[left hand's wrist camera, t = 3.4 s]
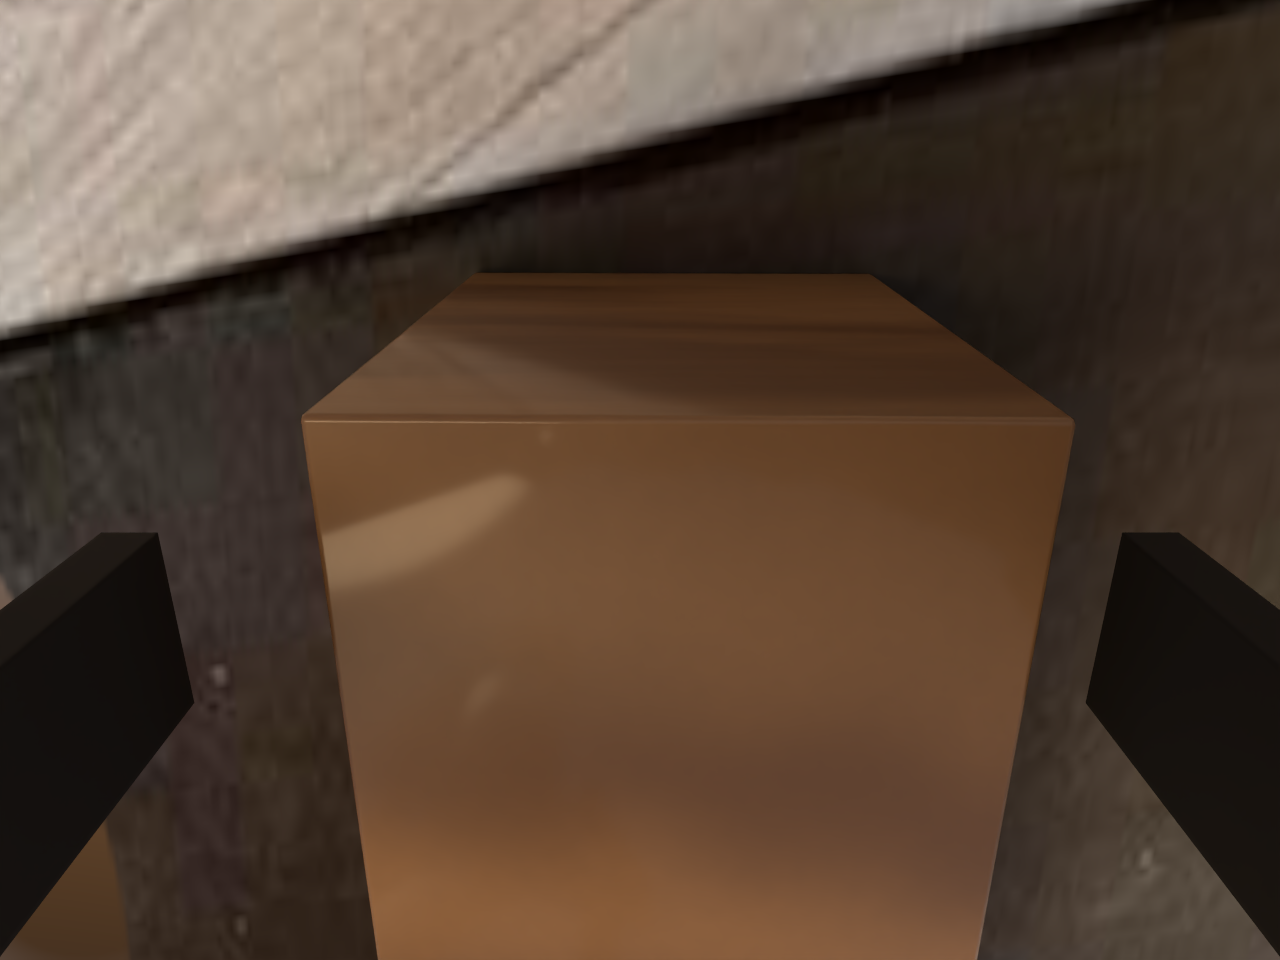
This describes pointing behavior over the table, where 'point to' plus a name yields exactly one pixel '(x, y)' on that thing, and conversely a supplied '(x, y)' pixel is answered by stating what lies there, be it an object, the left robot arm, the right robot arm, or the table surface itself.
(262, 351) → the table surface
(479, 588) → the box
